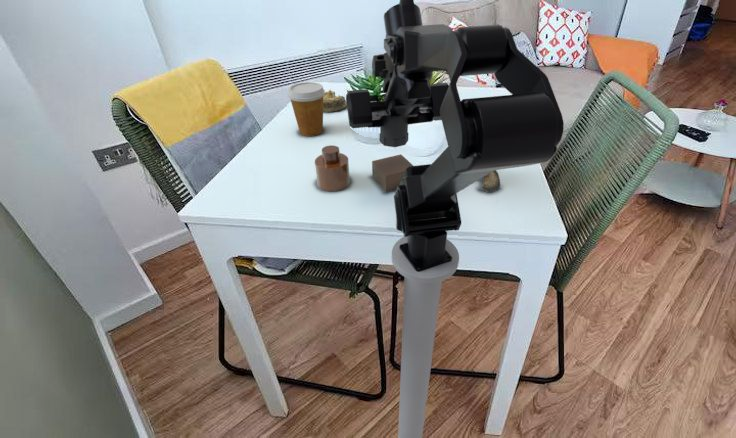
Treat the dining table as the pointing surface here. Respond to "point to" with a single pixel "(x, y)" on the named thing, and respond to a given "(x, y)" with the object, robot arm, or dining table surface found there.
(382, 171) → the stand
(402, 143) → the cap
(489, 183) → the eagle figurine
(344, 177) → the bottle
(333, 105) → the cake
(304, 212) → the dining table surface
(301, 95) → the disposable coffee cup
